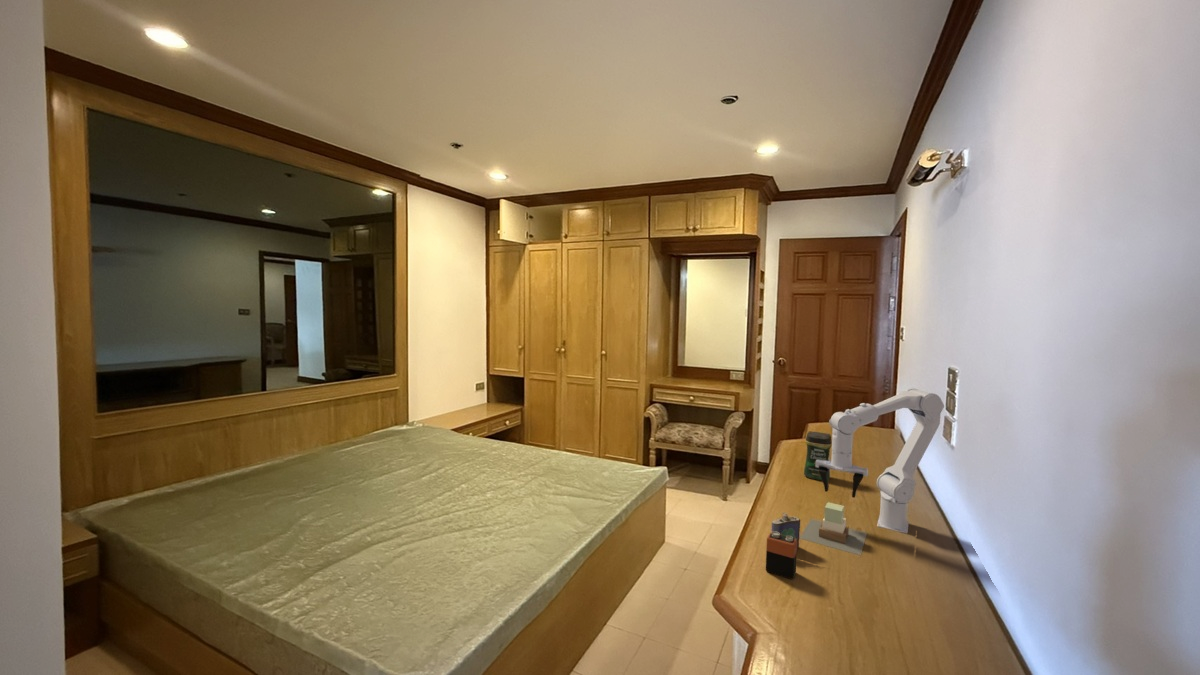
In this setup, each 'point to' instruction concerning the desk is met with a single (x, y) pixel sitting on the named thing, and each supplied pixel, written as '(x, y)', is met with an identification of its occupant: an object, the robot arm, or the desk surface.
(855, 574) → the desk surface
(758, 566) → the desk surface
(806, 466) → the coffee jar
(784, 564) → the battery
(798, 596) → the desk surface
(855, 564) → the desk surface
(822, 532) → the walnut slab
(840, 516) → the green block
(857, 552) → the mat
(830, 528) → the white slab
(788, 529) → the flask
